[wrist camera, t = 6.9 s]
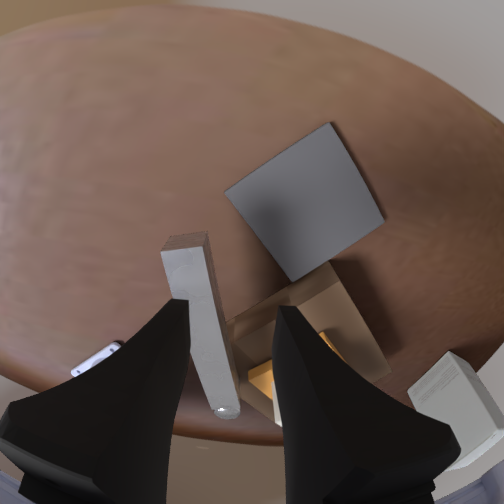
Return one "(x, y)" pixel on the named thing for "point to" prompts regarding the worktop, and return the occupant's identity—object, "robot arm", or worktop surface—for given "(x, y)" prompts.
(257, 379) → the plug
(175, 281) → the light grey long bar
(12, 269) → the worktop surface
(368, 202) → the mat
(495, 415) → the supplement box
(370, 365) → the socket block
